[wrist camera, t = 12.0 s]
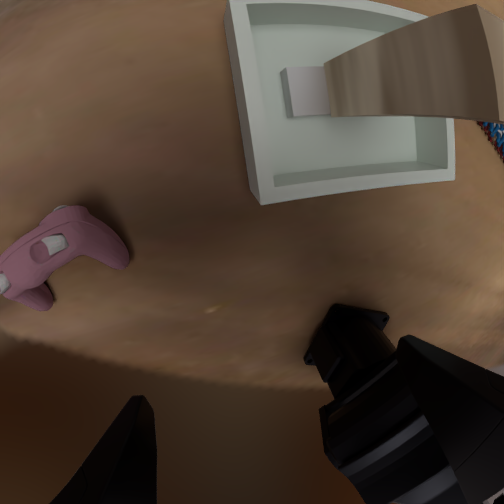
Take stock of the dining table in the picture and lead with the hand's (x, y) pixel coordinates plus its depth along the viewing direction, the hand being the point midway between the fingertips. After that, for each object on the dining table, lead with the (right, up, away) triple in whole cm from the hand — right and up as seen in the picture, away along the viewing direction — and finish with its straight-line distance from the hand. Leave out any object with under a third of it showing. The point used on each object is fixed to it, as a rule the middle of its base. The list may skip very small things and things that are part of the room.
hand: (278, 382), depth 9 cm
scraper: (+5, +14, +7) cm, 17 cm away
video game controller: (-14, +4, +9) cm, 18 cm away
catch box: (+5, +15, +8) cm, 17 cm away
